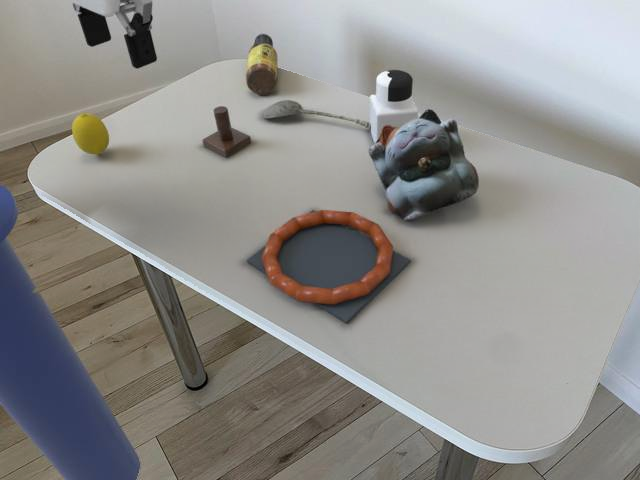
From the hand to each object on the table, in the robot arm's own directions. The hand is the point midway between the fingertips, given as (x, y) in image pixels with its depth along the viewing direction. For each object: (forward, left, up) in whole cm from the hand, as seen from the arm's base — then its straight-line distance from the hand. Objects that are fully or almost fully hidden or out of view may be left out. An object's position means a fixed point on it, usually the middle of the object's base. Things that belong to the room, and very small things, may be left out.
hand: (122, 53), depth 69 cm
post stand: (+18, +6, -25) cm, 31 cm away
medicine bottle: (+37, -16, -25) cm, 47 cm away
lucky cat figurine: (+26, -30, -25) cm, 46 cm away
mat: (+6, -28, -25) cm, 37 cm away
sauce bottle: (+34, +14, -22) cm, 43 cm away
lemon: (+2, +22, -25) cm, 33 cm away
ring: (+6, -28, -23) cm, 36 cm away
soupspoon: (+33, -1, -25) cm, 41 cm away
